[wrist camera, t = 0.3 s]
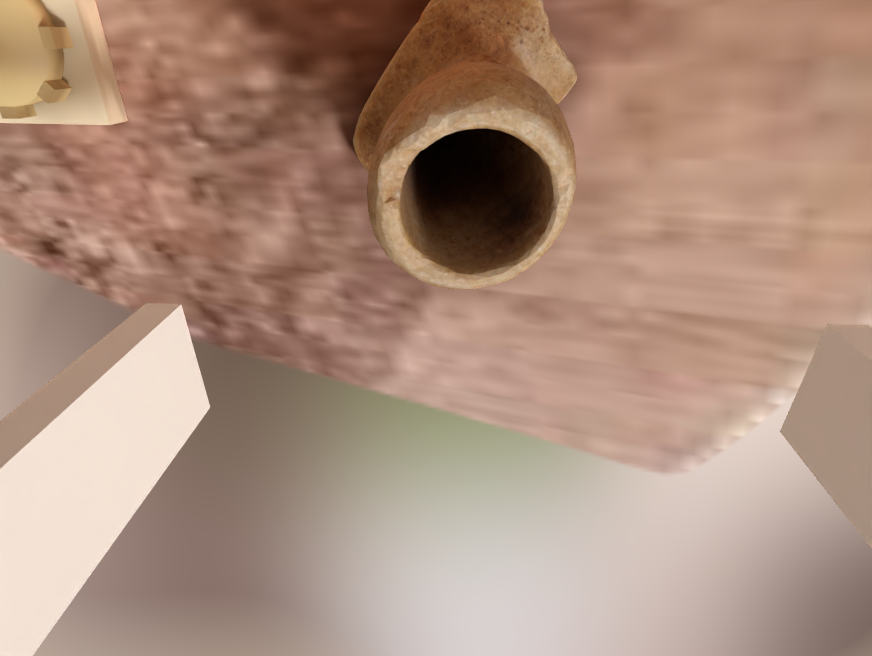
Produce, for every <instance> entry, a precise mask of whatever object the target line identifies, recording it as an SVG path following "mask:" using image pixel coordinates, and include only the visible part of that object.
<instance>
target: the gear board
mask: <svg viewBox="0 0 872 656" xmlns="http://www.w3.org/2000/svg"><path fill="white" fill-rule="evenodd" d="M125 121H128V119H127V116H126V112H125V108H124V105H123V101H122V97H121V94H120V90H119V86H118V83H117V79H116V75H115V72H114V68H113V64H112V61H111V57H110V53H109V50H108V46H107V42H106V39H105V35H104V31H103V28H102V24H101V20H100V17H99V13H98V9H97V5H96V2H95V0H0V123H36V124H87V125H112V124H116V123H121V122H125Z"/></svg>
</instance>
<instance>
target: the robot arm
mask: <svg viewBox="0 0 872 656" xmlns="http://www.w3.org/2000/svg"><path fill="white" fill-rule="evenodd" d="M209 408H210V405H209V402H208V398H207V394H206V391H205V387H204V384H203V380H202V377H201V373H200V370H199V366H198V363H197V359H196V355H195V352H194V348H193V345H192V341H191V337H190V334H189V330H188V327H187V323H186V320H185V316H184V312H183V309H182V305H181V304H154V303H146V304H145V305H143V306H142V307H141V308H140V309H139V310H137V311H136V312H135V313H134V314H132V315H131V316H130V317H129V318H127V319H126V320H125V321H124V322H123V323H121V324H120V325H119V326H117V327H116V328H115V329H114V330H113V331H111V332H110V333H109V334H108V335H107V336H105V337H104V338H103V339H102V340H100V341H99V342H98V343H96V344H95V345H94V346H93V347H92V348H90V349H89V350H88V351H87V352H85V353H84V354H83V355H82V356H80V357H79V358H78V359H77V360H75V361H74V362H73V363H72V364H70V365H69V366H68V367H67V368H66V369H65V370H63V371H62V372H61V373H59V374H58V375H57V376H56V377H54V378H53V379H52V380H51V381H50V382H48V383H47V384H46V385H45V386H43V387H42V388H41V389H40V390H38V391H37V392H36V393H35V394H33V395H32V396H31V397H30V398H29V399H27V400H26V401H25V402H23V403H22V404H21V405H20V406H19V407H17V408H16V409H15V410H14V411H12V412H11V413H10V414H9V415H7V416H6V417H5V418H4V419H2V420H1V421H0V656H33V654H34V653H35V652H36V650H37V649H38V647H39V646H40V645H41V643H42V642H43V640H44V639H45V638H46V636H47V635H48V633H49V632H50V631H51V629H52V628H53V626H54V625H55V623H56V622H57V621H58V619H59V618H60V617H61V615H62V614H63V612H64V611H65V610H66V608H67V607H68V605H69V604H70V603H71V601H72V600H73V598H74V597H75V595H76V594H77V593H78V591H79V590H80V589H81V587H82V586H83V584H84V583H85V582H86V580H87V579H88V577H89V576H90V574H91V573H92V572H93V570H94V569H95V568H96V566H97V565H98V563H99V562H100V561H101V559H102V558H103V556H104V555H105V553H106V552H107V551H108V549H109V548H110V547H111V545H112V544H113V542H114V541H115V540H116V538H117V537H118V535H119V534H120V533H121V531H122V530H123V528H124V527H125V526H126V524H127V523H128V521H129V520H130V519H131V517H132V516H133V514H134V513H135V512H136V510H137V509H138V507H139V506H140V505H141V503H142V502H143V500H144V499H145V498H146V496H147V495H148V493H149V492H150V491H151V489H152V488H153V486H154V485H155V483H156V482H157V481H158V479H159V478H160V477H161V475H162V474H163V473H164V471H165V470H166V468H167V467H168V466H169V464H170V463H171V461H172V460H173V458H174V457H175V456H176V454H177V453H178V451H179V450H180V449H181V447H182V446H183V445H184V443H185V442H186V440H187V439H188V437H189V436H190V435H191V433H192V432H193V431H194V429H195V428H196V426H197V425H198V423H199V422H200V421H201V419H202V418H203V416H204V415H205V414H206V412H207V411H208V410H209ZM780 432H781V433H782V435H783V436H784V437H785V438H786V440H787V441H788V442H789V444H790V445H791V446H792V447H793V449H794V450H795V451H796V452H797V454H798V455H799V456H800V458H801V459H802V460H803V462H804V463H805V464H806V465H807V467H808V468H809V469H810V471H811V472H812V473H813V474H814V476H815V477H816V478H817V480H818V481H819V482H820V483H821V485H822V486H823V487H824V489H825V490H826V491H827V492H828V494H829V495H830V496H831V497H832V499H833V500H834V501H835V503H836V504H837V505H838V506H839V508H840V509H841V510H842V512H843V513H844V514H845V515H846V517H847V518H848V519H849V520H850V522H851V523H852V524H853V526H854V527H855V528H856V529H857V531H858V532H859V533H860V535H861V536H862V537H863V539H864V540H865V541H866V542H867V544H868V545H869V546H870V548H871V549H872V328H871V327H869V326H867V325H834V324H827V326H826V329H825V331H824V333H823V336H822V338H821V340H820V342H819V345H818V347H817V349H816V351H815V354H814V356H813V358H812V360H811V363H810V365H809V367H808V369H807V372H806V374H805V376H804V378H803V381H802V383H801V385H800V388H799V390H798V392H797V394H796V397H795V399H794V401H793V403H792V406H791V408H790V410H789V412H788V415H787V417H786V419H785V421H784V424H783V426H782V428H781V431H780Z"/></svg>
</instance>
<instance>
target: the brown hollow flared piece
mask: <svg viewBox="0 0 872 656" xmlns="http://www.w3.org/2000/svg"><path fill="white" fill-rule="evenodd" d="M576 79H577V76H576V70H575V68H574V66H573V64H572V63H571V61H570V60H569V59H568V58H567V56H566V55H565V53H564V51H563V49H562V48H561V46H560V45H559V43H558V42H557V41H556V40H555V38H554V36H553V35H552V33H551V32H550V28H549V20H548V16H547V14H546V11H545V9H544V7H543V2H542V0H430V2H429V3H428V5H427V6H426V8H425V9H424V11H423V12H422V14H421V17H420V19H419V21H418V22H417V23H416V25H415V26H414V27H413V28H412V30H411V31H410V33H409V34H408V36H407V37H406V38H405V40H404V41H403V43H402V44H401V46H400V47H399V49H398V51H397V52H396V54H395V55H394V57H393V58H392V60H391V62H390V63H389V65H388V66H387V68H386V70H385V71H384V73H383V75H382V76H381V78H380V79H379V81H378V83H377V85H376V86H375V88H374V90H373V92H372V93H371V95H370V97H369V99H368V100H367V102H366V104H365V106H364V108H363V110H362V112H361V114H360V116H359V120H358V123H357V126H356V130H355V134H354V138H353V145H354V149H355V151H356V154H357V156H358V159H359V160H360V162H361V163H362V164H363V166H364V167H365V168H366V170H367V171H368V172H369V175H368V185H367V198H368V211H369V217H370V221H371V224H372V227H373V231H374V234H375V236H376V238H377V240H378V241H379V243H380V245H381V246H382V248H383V250H384V251H385V253H386V255H387V256H388V257H389V258H390V259H391V260H392V261H393V262H394V263H395V264H396V265H397V266H399V267H400V268H401V269H403V270H404V271H405V272H406V273H408V274H409V275H411V276H413V277H415V278H417V279H419V280H421V281H423V282H426V283H429V284H431V285H434V286H439V287H443V288H448V289H473V288H480V287H486V286H491V285H494V284H497V283H501V282H504V281H507V280H509V279H511V278H514V277H515V276H517V275H518V274H520V273H521V272H523V271H524V270H526V269H527V268H529V267H530V266H531V265H532V264H534V263H535V262H536V261H537V260H538V259H539V258H540V257H541V256H542V255H543V254H545V252H546V251H547V250H548V249H549V248H550V246H551V245H552V244H553V243H554V241H555V240H556V239H557V237H558V235H559V234H560V232H561V230H562V228H563V226H564V224H565V222H566V219H567V216H568V214H569V211H570V208H571V205H572V202H573V199H574V193H575V184H576V160H575V152H574V144H573V141H572V138H571V135H570V132H569V129H568V126H567V123H566V120H565V118H564V115H563V113H562V111H561V110H560V108H559V106H558V105H557V104H558V103H559V102H560V101H561V100H562V99H563V98H564V97H565V96H566V94H567V93H568V92H569V91H570V89H571V88H572V86H573V85H574V83H575V82H576Z"/></svg>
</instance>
